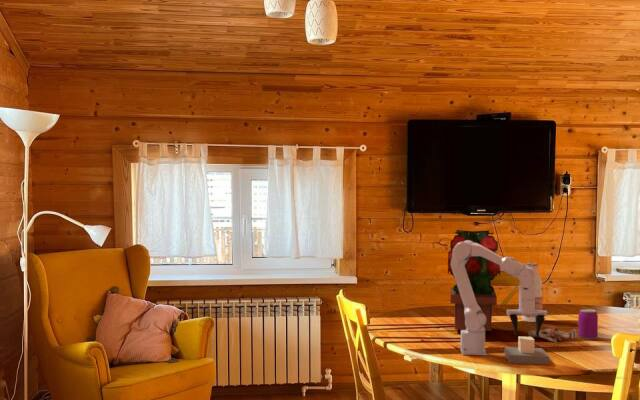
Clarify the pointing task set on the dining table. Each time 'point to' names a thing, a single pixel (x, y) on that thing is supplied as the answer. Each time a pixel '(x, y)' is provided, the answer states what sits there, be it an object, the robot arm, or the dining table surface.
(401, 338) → the dining table surface
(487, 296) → the potted plant
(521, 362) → the plinth
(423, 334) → the dining table surface
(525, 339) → the cube
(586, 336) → the beverage can
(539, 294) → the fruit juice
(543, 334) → the figurine
